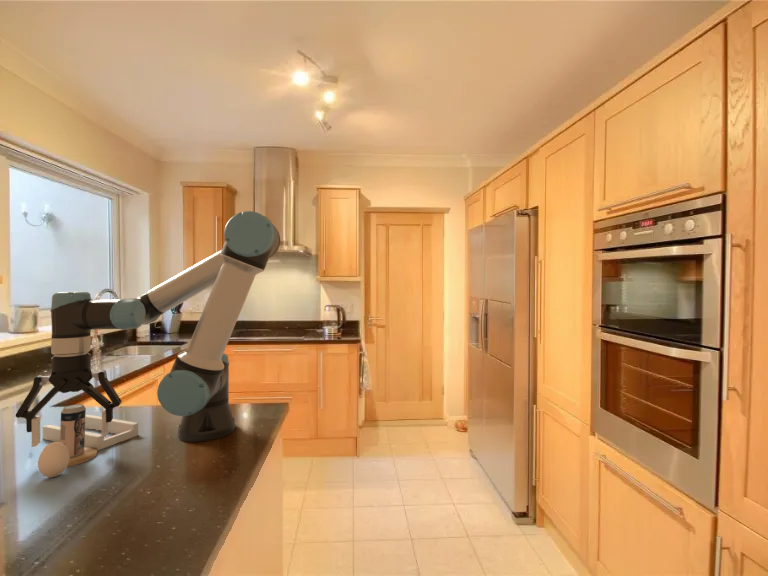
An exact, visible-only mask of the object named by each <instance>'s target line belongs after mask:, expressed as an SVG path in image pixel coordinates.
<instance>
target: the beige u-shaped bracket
mask: <svg viewBox="0 0 768 576" xmlns="http://www.w3.org/2000/svg"><path fill="white" fill-rule="evenodd" d="M85 429H88V430H92V429H96V430H95V431H98V430H102V416H99V415H98V416H97V415H92V414H86V415H85ZM109 432H110V433H109ZM108 433H109V434H112V435H110V436H108V437H107V436H106V437H102V433H101V434H100V433H96V432H95V433H94V432H92V431H91V432H90V431H85V443H84V447H92V448H96V449H97V451H100V450H103V449H105V448H108V447H110V446H111V447H112V446H113V445H116V444H119V443H121V442H125V441H127V440H130V439H132V438H135V437H137V436H139V422H134V421H129V420H122V419H118V418H117V419H116V418H113V419H112V421H111V422H108ZM114 433H115V434H114ZM42 439H43V440H47V441H52V442H60V425H59V426H58V425H53V424H47V425H43V426H42Z"/></svg>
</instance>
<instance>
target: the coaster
mask: <svg viewBox="0 0 768 576" xmlns="http://www.w3.org/2000/svg"><path fill="white" fill-rule="evenodd" d="M97 455H98V450H97V449H96V448H92V447H84V452H83V453H82V454H81V455H79V456H76V457H73V458H70V459H69V463H68V466H67V467H66V468H70V467H74V466H77V465H81V464H84V463H86V462H89V461H90V460H93V459H94V458H95V457H96V456H97Z"/></svg>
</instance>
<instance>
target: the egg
mask: <svg viewBox="0 0 768 576" xmlns="http://www.w3.org/2000/svg"><path fill="white" fill-rule="evenodd" d="M69 459H70V456H69V451H68V449H67V447H66V446H65V445H64V444H63V443H61V442H55V441H52V442H50V443H48V444H47V445H45V446H44V448H43V449H42V451H41V452H40V454H39V457H38V460H37V467H38V471H39V473H40V474H41V475H42V476H43V477H47V478H55V477H57V476H59V475H60V474H61V475H62V473H63V472H64V471H65V470H66V469H67V468H68V467H67V466H68V463H69Z"/></svg>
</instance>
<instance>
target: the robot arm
mask: <svg viewBox="0 0 768 576" xmlns="http://www.w3.org/2000/svg"><path fill="white" fill-rule="evenodd" d="M223 233H224V234H223V236H224V242H223V246H222V248H221V249H220V250H218V251H217V252H215V253H213V254H212V255H210V256H208V257H205V258H204V259H202V260H201V261H199V262H197V263H195V264H194V265H192V266H190V267H188V268H187V269H185V270H183V271H181V272H180V273H178V274H176V275H174V276H173V277H171V278H169V279H167V280H165V281H163V282H162V283H160V284H158V285H157V286H154V287H153V288H151V289H150V290H148V291H146V292H144V293H143V294H140V295H139V296H137V297H135V298H120V299H119V298H117V299H115V298H114V299H92V297H91V293H90V292H88V291H58V292H55V293H53V294H52V296H51V306H50V307H51V308H50V311H49V312H50V316H51V339H50V340H51V341H50V344H51V346H50V347H51V348H50V349H51V351H50V353H51V354H52V355H53V356H52V357H51V358H50V359H51V366H50V370H51V373H50V376H49V375H48V376H47V375H43V374H39V375H38V376H35V377H34V379H33V383H32V387H31V389H30V390H29V391H28V394H27V395H26V397H25V399H24V400H23V402H22V403H21V404H20V407H19V408H18V410H17V412H16V413H15V418H18V419H19V418H21V419H22V418H23V419H25V421H26V423H25V425H26V426H25V427H26V430H25V431H26V432H27V433H31V447H32V448H33V447H37V446H38V445H39V444H41V415H37V414H39V412H40V411H41V410H42V409H43V408H44V407H45V406H46V405H48V403H49V402H50V401H51V399H52V398H54V397H55V396H56V395H57V394H58V393H62V394H67V393H78V392H80V391H83V392H84V393H86V394H87V395H88V396H90V397H91V398H92V399H93V400H94V401H95V402H97V403H98V404H99V405H100V406H101V407H102V408H103V410H102V411H101V417H102V431H101V435H102V437H104V438H107V435H108V434H109V432H108V422H111V421H112V419H114V408H116V407H119V406H120V405H121V403H122V399H121V398H120V396H119V395H118V392H116V390H115V388H114V387H113V385H112V384H111V382H110V381H109V379H108V375H107V370H105V369H102V370H100V371H96V372H92V369H91V366H92V365H91V364H92V361H91V359H92V358H91V353H89V352H90V351H91V346H92V344H91V343H92V341H91V340H92V338H91V333H92V332H91V331H92V330H93V331H94V330H121V331H122V330H123V331H125V330H133V329H134V330H135V329H139V328H140V327H141V326H142V325H143V326H145V325H149V324H151V323H154V322H156V321H157V320H158V319H159V318H160V317H161V316H162V315H163V314H166V312H169V311H170V310H172V309H175V307H177V306H179V305H180V304H183V303H184V302H187V301H188V300H189V299H192V298H193V297H194V296H196V295H198V294H200V293H202V292H203V291H206V290H207V289H209V288H211V287H212V286H213V287H212V288H211V291H210V293H209V296H208V298H207V301H206V302H205V304H204V308H203V310H202V312H201V315H200V317H199V320H198V321H197V324H196V326H195V329H194V332H193V334H192V336H191V339H190V341H189V344H188V345H187V348H186V349H184V350H182V351H180V352H178V353H177V356H176V357H175V359H174V363H173V365H172V367H171V369H170V371H169V372H168V373H167V374H165V376H164V377H162V379H161V380H160V382H159V384H158V387H157V390H156V391H157V392H156V394H157V400H158V402H159V403H160V405H161V407H162V408H163V409H164V410H165V411H166V412H167V413H169V414H171V415H174V416H178V417H181V421H180V424H179V425H178V427H177V428H178V429H177V438H178V440H180V441H183V442H188V443H190V442H191V443H197V442H199V443H200V442H208V441H212V440H213V441H214V440H217V439H221V438H223V437H225V436H228V435H230V434H231V433H234V431H235V430H236V420H235V417H234V416H233V413H232V409H231V406H230V402H229V399H230V398H229V395H230V393H229V386H230V385H229V383H230V382H229V381H230V380H229V379H230V378H229V375H230V373H229V372H230V371H229V370H230V369H229V368H230V367H229V366H230V362H229V361H230V360H229V356H228V355H227V354H226V353H225V350H226V347H227V345H228V344H229V340H230V338H231V337H232V336H231V335H232V334H233V331H234V328H235V326H236V323H237V321H238V319H239V316H240V314H241V311H242V309H243V308H244V304H245V302H246V300H247V298H248V294H249V292H250V290H251V288H252V285H253V282H254V280H255V278H256V276H257V275H258V274H260V273H262V272H264V271H265V269H266V266H267V264H268V262H269V259H271V258H272V257H274V255H276V253H277V252H278V251H279V248H280V246H281V236H280V232H279V231H278V229H277V228H276V226H275V225H274V224H273V222H272V221H271V219H270V218H268V217H267V216H266V215H263V214H262V213H259V212H256V211H251V210H245V211H240V212H238V213H236V214H234V215H233V216H231V218H230V219H229V220H228V221H227V222H226V225H225V227H224V232H223ZM93 378H94V379H95V381H98V382H99V384H100V386H101V387H102V389H103V391H104V392H105V394H106V396H107V397H108V398H109V399H108V398H107V397H106V396H105V395H104V394H102V393H101V392H100V391H99V390H98V389H97V388H96V387H95V386H94V385H93V384H92V383H91V382H90V381H91V380H92V379H93ZM48 382H49V383H50V384H51V385H52V386H53V387H52V388H51V389H50V390H49V391H48V393H47V394H46V395H45V396H44V397H43V398H42V399H40V400H39V401H38V403H37V404H36V405H35V406H34V407H33V408H32V409H31V410H29V409H30V408H31V406H32V404H33V402H34V401H35V399H36V398H37V396H38V394H39V393H40V391H41V389H42V388H43V386H44V385H46V384H47V383H48Z"/></svg>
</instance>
